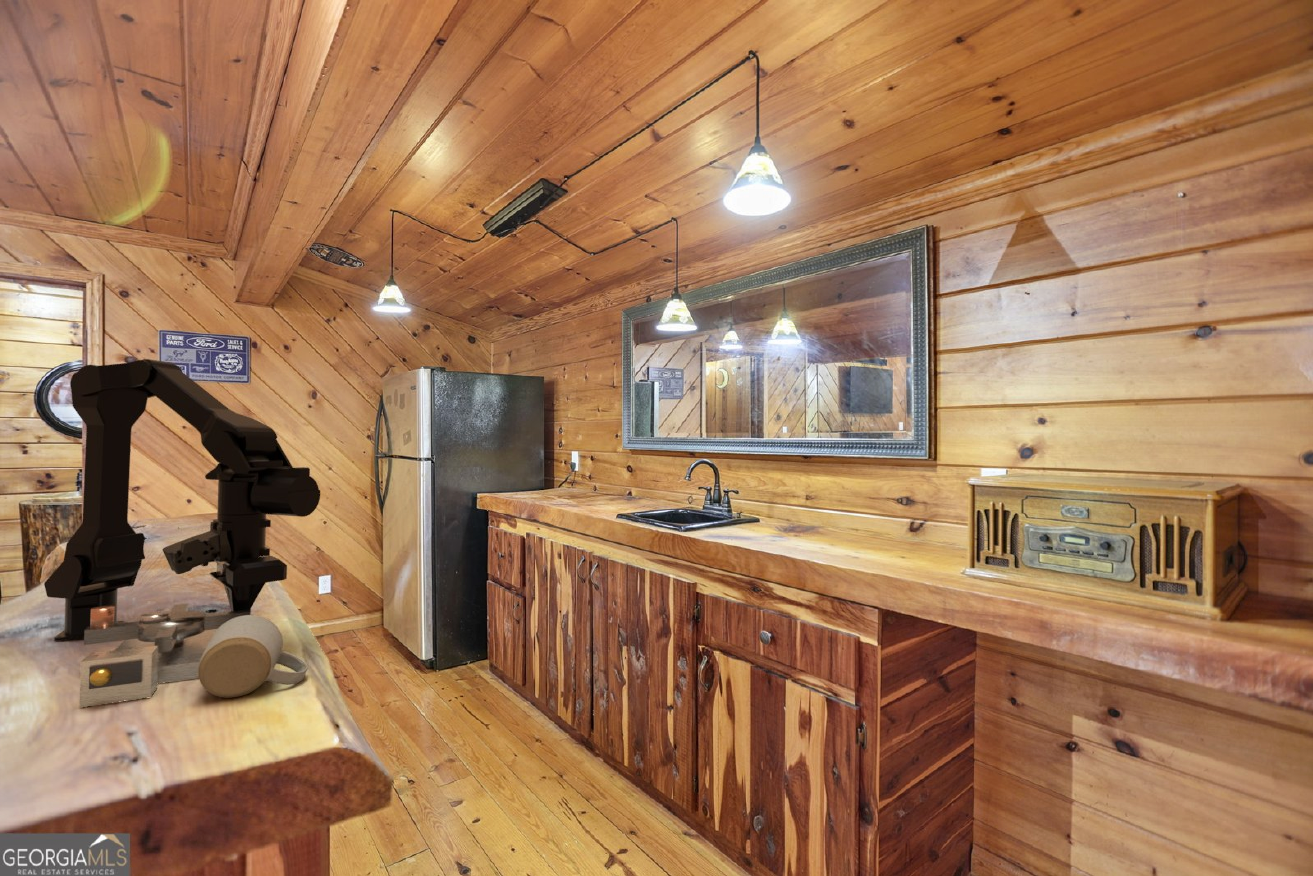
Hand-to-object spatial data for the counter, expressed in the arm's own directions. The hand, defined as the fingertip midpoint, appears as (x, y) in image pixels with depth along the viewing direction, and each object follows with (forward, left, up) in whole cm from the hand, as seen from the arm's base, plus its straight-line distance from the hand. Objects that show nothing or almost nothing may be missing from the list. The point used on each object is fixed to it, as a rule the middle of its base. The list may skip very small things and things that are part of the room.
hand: (239, 622), depth 85 cm
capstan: (+3, -7, 0) cm, 7 cm away
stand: (+6, -7, -3) cm, 10 cm away
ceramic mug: (+17, +3, -4) cm, 18 cm away
